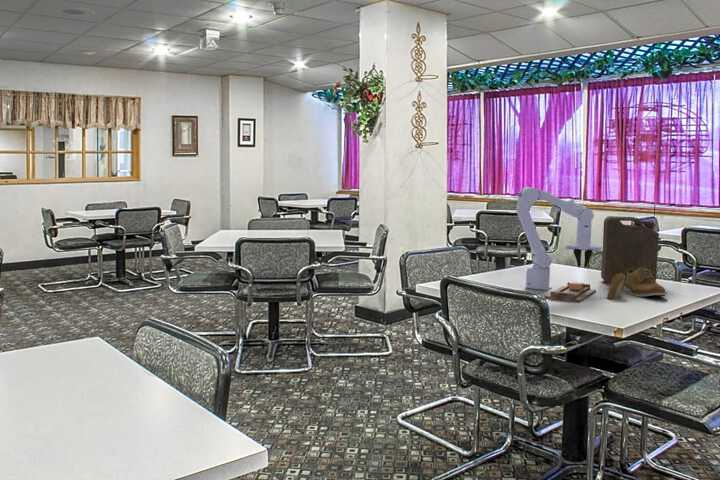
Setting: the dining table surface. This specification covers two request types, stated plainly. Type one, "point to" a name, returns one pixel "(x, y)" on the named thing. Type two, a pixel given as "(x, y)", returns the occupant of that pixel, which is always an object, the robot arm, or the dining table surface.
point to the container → (628, 247)
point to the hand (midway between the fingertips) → (582, 267)
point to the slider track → (571, 293)
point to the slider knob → (576, 285)
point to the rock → (616, 286)
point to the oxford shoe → (642, 283)
